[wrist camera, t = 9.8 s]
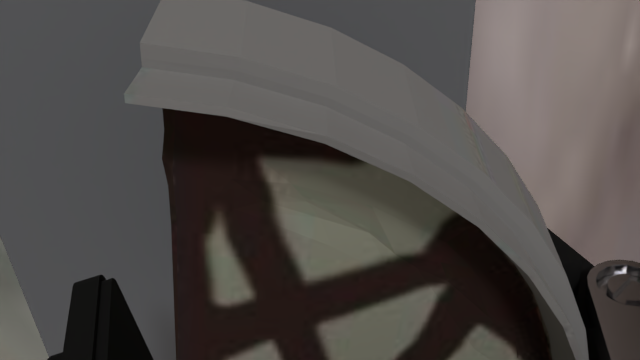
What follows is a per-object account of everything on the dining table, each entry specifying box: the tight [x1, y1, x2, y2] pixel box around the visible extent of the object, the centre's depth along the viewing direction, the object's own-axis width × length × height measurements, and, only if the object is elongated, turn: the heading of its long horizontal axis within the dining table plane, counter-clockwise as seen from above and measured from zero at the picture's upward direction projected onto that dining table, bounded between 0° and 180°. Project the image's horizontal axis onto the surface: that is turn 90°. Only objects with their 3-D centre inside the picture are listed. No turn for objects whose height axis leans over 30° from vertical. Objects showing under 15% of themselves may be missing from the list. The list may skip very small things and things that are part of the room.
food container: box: [124, 0, 589, 360], centre depth 12 cm, size 12×6×10 cm, turn 175°
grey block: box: [0, 0, 476, 360], centre depth 19 cm, size 14×14×6 cm
